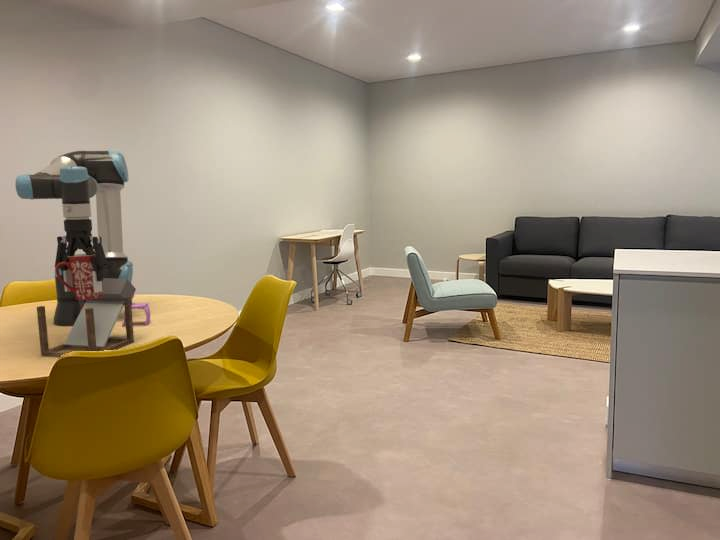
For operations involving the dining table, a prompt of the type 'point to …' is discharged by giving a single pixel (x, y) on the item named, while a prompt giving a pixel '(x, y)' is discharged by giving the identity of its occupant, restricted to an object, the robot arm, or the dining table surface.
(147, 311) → the purple tall handled piece
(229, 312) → the dining table surface
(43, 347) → the frame
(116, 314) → the trapdoor
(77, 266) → the mug
